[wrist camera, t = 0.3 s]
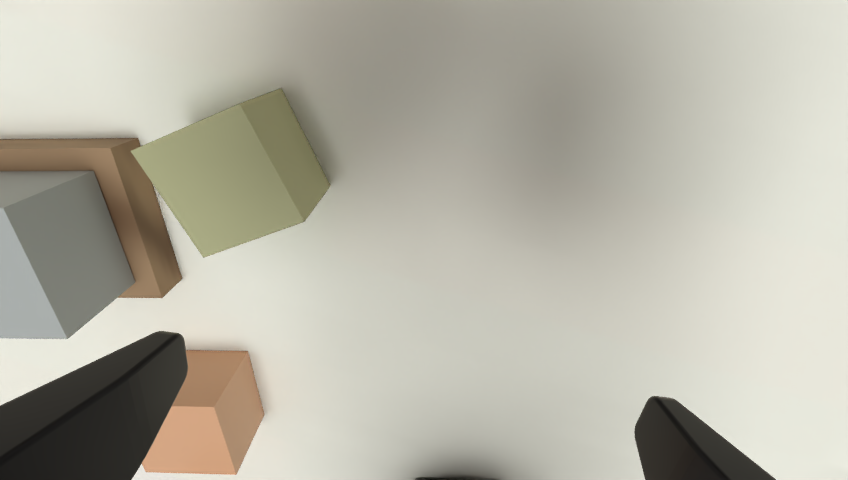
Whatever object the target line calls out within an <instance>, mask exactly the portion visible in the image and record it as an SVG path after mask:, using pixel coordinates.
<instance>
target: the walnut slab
mask: <svg viewBox="0 0 848 480" xmlns="http://www.w3.org/2000/svg"><path fill="white" fill-rule="evenodd" d="M139 147H141V146H140V143H139V140H138V138H102V139H0V171H94V173H95V176H96V179H97V181H98V184H99V187H100V189H101V192H102V195H103V197H104V200H105V203H106V205H107V208H108V211H109V213H110V216H111V219H112V221H113V224H114V227H115V229H116V232H117V235H118V237H119V240H120V243H121V245H122V248H123V251H124V253H125V256H126V259H127V261H128V264H129V267H130V269H131V272H132V275H133V277H134V280H135V283H134V284H133V285H132V286H131V287H129V288H128V289H127V290H126V291H125V292H123V293H122V294H121V295H120V296H119V297H117V298H163V297H164V296H165V295H166V294H167V293H168V292H169V291H170V290H171V289H172V288H173V287H174V286H175V285H176V284H177V283H178V282H179V281H180V280H181V279H182V276H181V273H180V270H179V266H178V263H177V260H176V257H175V254H174V251H173V247H172V244H171V241H170V238H169V235H168V232H167V228H166V225H165V222H164V219H163V216H162V213H161V209H160V206H159V203H158V200H157V197H156V194H155V190H154V187H153V184H152V182H151V180H150V179H149V177H148V176H147V174H146V173H145V172H144V170H143V169H142V167H141V166H140V164H139V163H138V161H137V160H136V158H135V157H134V156H133V154H132V153H131V151H132V150H134V149H136V148H139Z"/></svg>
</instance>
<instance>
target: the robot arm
mask: <svg viewBox="0 0 848 480" xmlns="http://www.w3.org/2000/svg"><path fill="white" fill-rule="evenodd" d="M187 372H188V362H187V356H186V349H185V342H184V338H183V336H182V335H181V334H179V333H173V332H165V331H159V332H155V333H153V334H151V335H149V336H147V337H145V338H142V339H140V340H138V341H136V342H134V343H132V344H130V345H128V346H126V347H123V348H121V349H119V350H117V351H115V352H113V353H111V354H109V355H106V356H104V357H102V358H100V359H98V360H96V361H94V362H92V363H90V364H87V365H85V366H83V367H81V368H79V369H77V370H75V371H73V372H71V373H68V374H66V375H64V376H62V377H60V378H58V379H56V380H54V381H51V382H49V383H47V384H45V385H43V386H41V387H39V388H37V389H35V390H32V391H30V392H28V393H26V394H24V395H22V396H20V397H18V398H15V399H13V400H11V401H9V402H7V403H5V404H3V405H1V406H0V480H131V479H132V478H133V476H134V475H135V473H136V472H137V470H138V468H139V467H140V465H141V464H142V462H143V460H144V459H145V457H146V455H147V453H148V452H149V450H150V448H151V446H152V444H153V442H154V440H155V438H156V436H157V434H158V432H159V430H160V428H161V426H162V424H163V422H164V421H165V419H166V417H167V415H168V413H169V411H170V409H171V407H172V405H173V403H174V401H175V399H176V397H177V395H178V393H179V391H180V389H181V387H182V385H183V383H184V381H185V379H186V376H187ZM635 440H636V444H637V448H638V452H639V456H640V460H641V464H642V468H643V472H644V476H645V480H776V479H775V478H773V477H772V476H771V475H770V474H768V473H767V472H766V471H765V470H763V469H762V468H761V467H760V466H758V465H757V464H756V463H755V462H753V461H752V460H751V459H749V458H748V457H747V456H746V455H744V454H743V453H742V452H741V451H739V450H738V449H737V448H736V447H734V446H733V445H732V444H731V443H729V442H728V441H727V440H726V439H724V438H723V437H722V436H721V435H719V434H718V433H717V432H716V431H714V430H713V429H712V428H711V427H709V426H708V425H707V424H706V423H704V422H703V421H702V420H700V419H699V418H698V417H697V416H695V415H694V414H693V413H692V412H690V411H689V410H688V409H687V408H685V407H684V406H683V405H682V404H680V403H679V402H678V401H676V400H675V399H672V398H667V397H659V396H652V397H650V398H649V399H648V401H647V402H646V404H645V407H644V409H643V411H642V413H641V415H640V417H639V419H638V421H637V423H636V426H635Z"/></svg>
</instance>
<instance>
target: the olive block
mask: <svg viewBox="0 0 848 480" xmlns="http://www.w3.org/2000/svg"><path fill="white" fill-rule="evenodd" d="M131 153H132V154H133V156H134V157H135V158H136V160H137V161H138V163H139V164H140V166H141V167H142V169H143V170H144V172H145V173H146V174H147V176H148V177H149V179H150V180H151V182H152V183H153V185H154V186H155V188H156V189H157V191H158V192H159V193H160V195H161V196H162V198H163V199H164V201H165V202H166V204H167V205H168V207H169V208H170V210H171V211H172V212H173V214H174V215H175V217H176V218H177V220H178V221H179V223H180V224H181V226H182V227H183V228H184V230H185V231H186V233H187V234H188V236H189V237H190V239H191V240H192V242H193V243H194V245H195V246H196V247H197V249H198V250H199V252H200V253H201V255H202V256H203V258H204V257H207V256H209V255H212V254H215V253H218V252H221V251H224V250H226V249H229V248H232V247H235V246H238V245H240V244H243V243H246V242H249V241H252V240H254V239H257V238H260V237H263V236H266V235H268V234H271V233H274V232H277V231H280V230H282V229H285V228H288V227H291V226H294V225H296V224H299V223H302V222H304V221H305V220H306V219H307V217H308V216H309V215H310V213H311V212H312V210H313V209H314V208H315V206H316V205H317V204H318V202H319V201H320V200H321V198H322V197H323V195H324V194H325V193H326V191H327V190H328V189H329V187H330V184H329V182H328V180H327V178H326V176H325V174H324V172H323V170H322V168H321V166H320V164H319V162H318V160H317V158H316V156H315V154H314V152H313V150H312V148H311V146H310V144H309V143H308V141H307V139H306V137H305V135H304V133H303V131H302V129H301V127H300V125H299V123H298V121H297V119H296V117H295V115H294V113H293V111H292V109H291V107H290V105H289V103H288V101H287V99H286V97H285V95H284V93H283V91H282V89H281V88H280V89H278V90H275V91H272V92H270V93H267V94H264V95H261V96H259V97H256V98H253V99H251V100H248V101H245V102H243V103H240V104H238V105H235V106H233V107H231V108H228V109H226V110H224V111H221V112H219V113H217V114H215V115H212V116H210V117H208V118H205V119H203V120H201V121H198V122H196V123H194V124H191V125H189V126H187V127H185V128H182V129H180V130H178V131H175V132H173V133H171V134H168V135H166V136H164V137H162V138H159V139H157V140H155V141H152V142H150V143H148V144H145V145H143V146H141V147H139V148H136V149H134V150H132V151H131Z"/></svg>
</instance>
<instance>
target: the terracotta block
mask: <svg viewBox="0 0 848 480" xmlns="http://www.w3.org/2000/svg"><path fill="white" fill-rule="evenodd" d="M186 356H187V362H188V372H187V376H186V379H185V381H184V383H183V385H182V387H181V389H180V391H179V393H178V395H177V397H176V399H175V401H174V403H173V405H172V407H171V409H170V411H169V413H168V415H167V417H166V419H165V421H164V422H163V424H162V426H161V428H160V430H159V432H158V434H157V436H156V438H155V440H154V442H153V444H152V446H151V448H150V450H149V452H148V453H147V455H146V457H145V459H144V460H143V462H142V465H143V467H144V469H145V471H146V472H161V473H197V474H233V475H236V474H237V472H238V470H239V468H240V466H241V464H242V462H243V459H244V457H245V455H246V453H247V451H248V449H249V446H250V444H251V442H252V440H253V438H254V436H255V434H256V431H257V429H258V427H259V425H260V423H261V421H262V419H263V416H264V411H263V407H262V403H261V400H260V396H259V392H258V388H257V384H256V380H255V377H254V373H253V369H252V365H251V361H250V357H249V354H248V351H202V350H186Z"/></svg>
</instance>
